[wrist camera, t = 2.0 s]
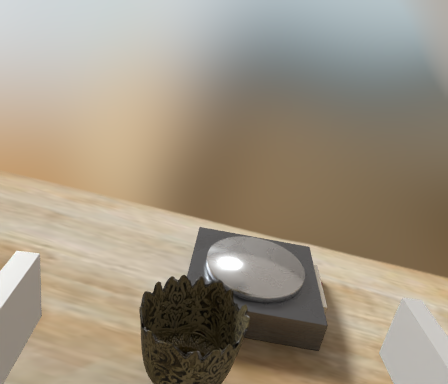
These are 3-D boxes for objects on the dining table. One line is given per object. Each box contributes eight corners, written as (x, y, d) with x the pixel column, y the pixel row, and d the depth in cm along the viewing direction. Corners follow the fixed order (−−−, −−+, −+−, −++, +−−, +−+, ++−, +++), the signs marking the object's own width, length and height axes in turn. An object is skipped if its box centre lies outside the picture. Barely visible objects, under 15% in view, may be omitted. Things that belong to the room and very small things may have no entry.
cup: (247, 416, 30) (270, 334, 26) (150, 453, 26) (163, 363, 23) (204, 342, 36) (219, 267, 32) (120, 364, 32) (127, 282, 29)
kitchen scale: (177, 325, 37) (182, 291, 35) (196, 248, 49) (200, 221, 47) (327, 352, 37) (339, 320, 35) (309, 269, 49) (317, 242, 47)
